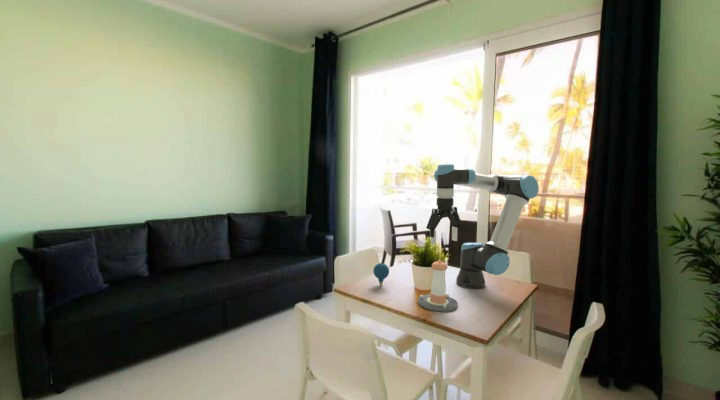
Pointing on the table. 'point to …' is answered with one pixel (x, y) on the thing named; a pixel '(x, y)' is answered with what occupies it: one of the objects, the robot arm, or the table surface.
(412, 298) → the table surface
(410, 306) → the table surface
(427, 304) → the stud plate
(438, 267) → the pepper shaker
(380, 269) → the light bulb
